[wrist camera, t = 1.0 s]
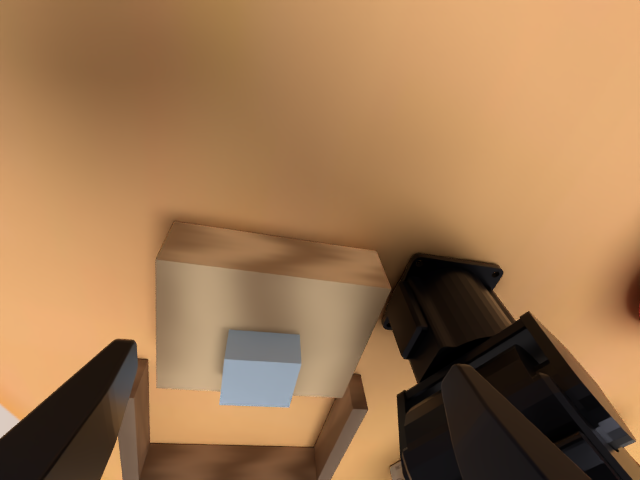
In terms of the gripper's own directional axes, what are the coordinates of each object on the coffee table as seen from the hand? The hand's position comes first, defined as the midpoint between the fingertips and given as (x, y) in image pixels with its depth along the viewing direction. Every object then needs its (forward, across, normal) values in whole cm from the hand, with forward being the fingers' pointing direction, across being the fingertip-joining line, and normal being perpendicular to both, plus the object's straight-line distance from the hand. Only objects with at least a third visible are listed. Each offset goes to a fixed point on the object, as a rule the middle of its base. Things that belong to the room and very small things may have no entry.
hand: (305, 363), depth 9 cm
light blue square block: (+8, 0, +10) cm, 13 cm away
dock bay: (+12, 0, +22) cm, 25 cm away
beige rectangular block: (+12, 0, +9) cm, 15 cm away
